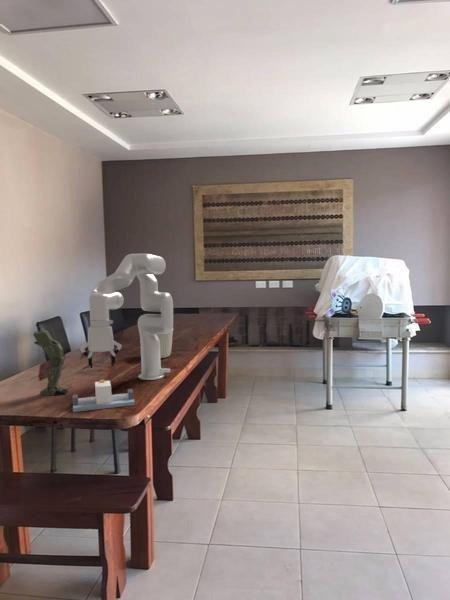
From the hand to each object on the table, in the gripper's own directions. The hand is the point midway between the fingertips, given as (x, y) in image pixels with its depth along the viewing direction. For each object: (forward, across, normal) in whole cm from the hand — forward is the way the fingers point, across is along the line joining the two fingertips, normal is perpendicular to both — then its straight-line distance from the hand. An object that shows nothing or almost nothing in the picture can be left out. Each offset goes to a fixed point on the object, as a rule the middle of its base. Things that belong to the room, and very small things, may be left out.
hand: (101, 366), depth 195 cm
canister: (+16, -37, -82) cm, 91 cm away
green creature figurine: (+16, +21, -24) cm, 36 cm away
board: (+16, 0, 0) cm, 16 cm away
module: (+14, 0, 0) cm, 14 cm away
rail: (+14, 0, 0) cm, 14 cm away
